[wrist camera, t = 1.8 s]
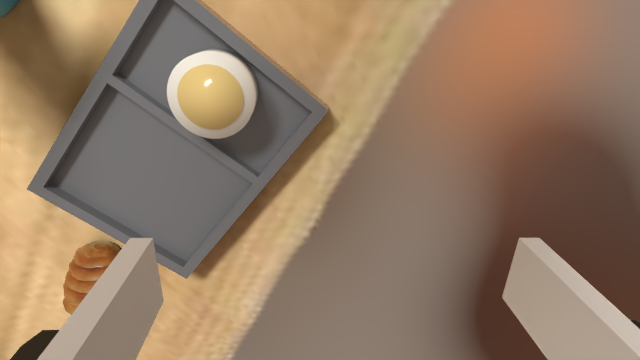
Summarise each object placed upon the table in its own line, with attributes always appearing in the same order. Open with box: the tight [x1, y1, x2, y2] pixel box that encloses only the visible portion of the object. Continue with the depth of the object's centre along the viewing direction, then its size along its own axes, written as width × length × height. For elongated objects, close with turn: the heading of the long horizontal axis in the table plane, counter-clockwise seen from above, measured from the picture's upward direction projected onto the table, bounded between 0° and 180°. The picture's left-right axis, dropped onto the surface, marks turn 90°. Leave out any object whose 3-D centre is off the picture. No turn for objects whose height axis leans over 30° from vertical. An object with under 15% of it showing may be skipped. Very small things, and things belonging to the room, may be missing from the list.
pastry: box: [63, 241, 121, 315], centre depth 38 cm, size 9×7×4 cm
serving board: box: [27, 0, 329, 279], centre depth 32 cm, size 16×22×5 cm
